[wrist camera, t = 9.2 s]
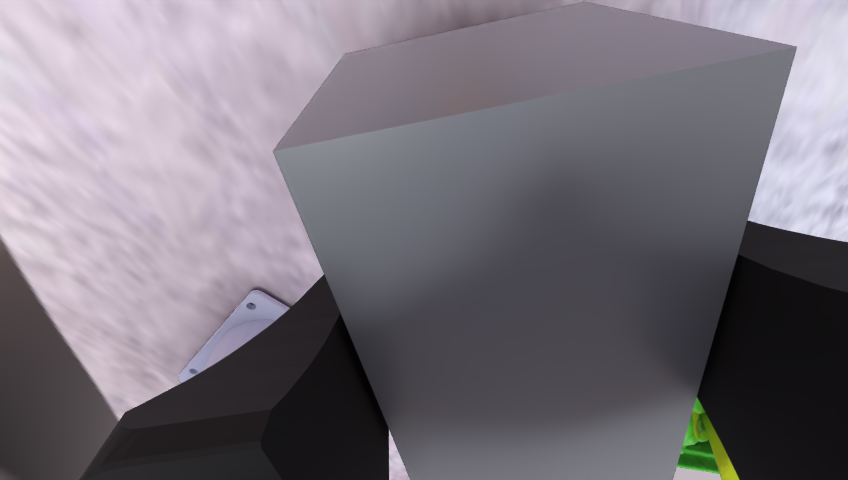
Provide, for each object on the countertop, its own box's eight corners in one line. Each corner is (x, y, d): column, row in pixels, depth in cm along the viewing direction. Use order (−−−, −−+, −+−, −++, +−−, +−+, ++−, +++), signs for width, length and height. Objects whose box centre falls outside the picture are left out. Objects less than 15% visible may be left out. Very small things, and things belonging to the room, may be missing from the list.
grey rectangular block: (577, 314, 16) (667, 501, 10) (424, 338, 16) (430, 528, 11) (584, 1, 10) (797, 46, 4) (345, 53, 10) (272, 151, 5)
